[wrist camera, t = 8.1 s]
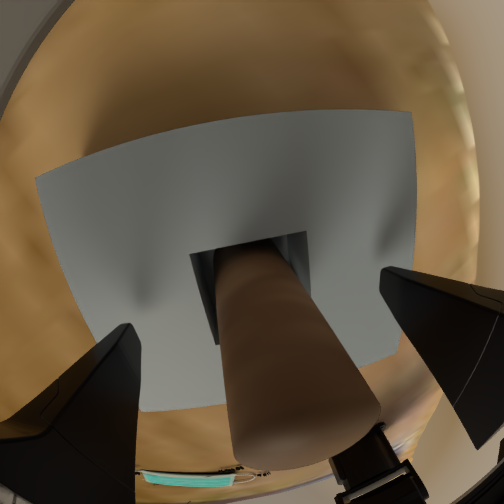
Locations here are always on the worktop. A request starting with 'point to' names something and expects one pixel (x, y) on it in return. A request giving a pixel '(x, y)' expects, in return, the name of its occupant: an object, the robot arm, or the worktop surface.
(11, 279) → the worktop surface
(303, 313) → the dowel
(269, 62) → the worktop surface
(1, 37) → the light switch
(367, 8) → the worktop surface
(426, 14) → the worktop surface
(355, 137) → the hole block
